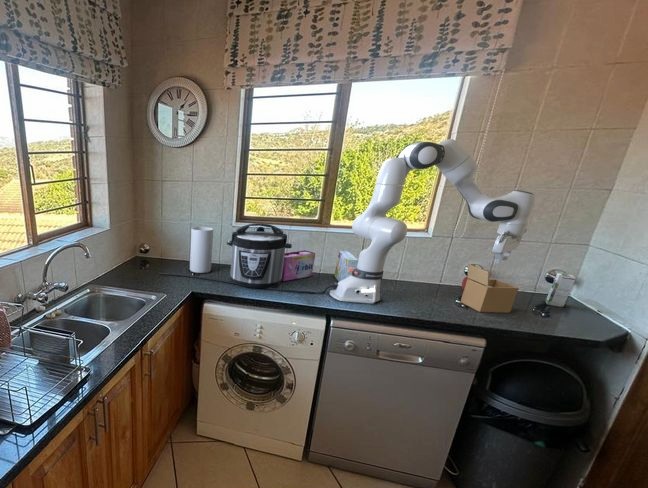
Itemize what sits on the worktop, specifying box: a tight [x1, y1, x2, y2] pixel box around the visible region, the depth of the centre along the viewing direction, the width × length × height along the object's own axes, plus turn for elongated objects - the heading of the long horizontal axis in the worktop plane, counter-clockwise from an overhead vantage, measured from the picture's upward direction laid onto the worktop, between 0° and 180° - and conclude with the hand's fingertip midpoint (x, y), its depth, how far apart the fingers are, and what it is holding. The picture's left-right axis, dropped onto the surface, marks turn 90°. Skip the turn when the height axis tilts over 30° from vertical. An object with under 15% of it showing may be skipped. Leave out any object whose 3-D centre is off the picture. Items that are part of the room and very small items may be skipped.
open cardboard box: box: [460, 278, 520, 314], centre depth 183 cm, size 13×13×12 cm
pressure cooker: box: [226, 222, 293, 289], centre depth 212 cm, size 30×28×32 cm
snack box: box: [333, 250, 359, 282], centre depth 217 cm, size 21×6×15 cm, turn 168°
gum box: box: [281, 250, 316, 282], centre depth 226 cm, size 24×8×14 cm, turn 118°
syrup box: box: [545, 272, 576, 308], centre depth 186 cm, size 6×6×14 cm
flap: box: [466, 264, 490, 286], centre depth 179 cm, size 6×13×1 cm
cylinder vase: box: [189, 226, 214, 274], centre depth 235 cm, size 12×12×25 cm
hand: (500, 261), depth 177 cm, fingers open, 8 cm apart
